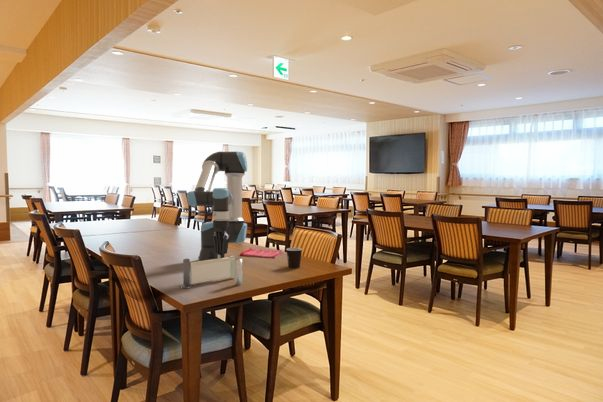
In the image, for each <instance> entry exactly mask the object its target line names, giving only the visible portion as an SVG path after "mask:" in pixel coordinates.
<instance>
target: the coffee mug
mask: <svg viewBox="0 0 603 402" xmlns="http://www.w3.org/2000/svg"><path fill="white" fill-rule="evenodd" d="M302 252H303V248H300V247H288V248H286V257H287V266H288V268H289V269H300V268H301V260H302V254H303V253H302Z"/></svg>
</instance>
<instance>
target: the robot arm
mask: <svg viewBox="0 0 603 402" xmlns="http://www.w3.org/2000/svg"><path fill="white" fill-rule="evenodd" d="M201 169H202V170H201V172H200V174H199V175H200V176H199V178H198V180H197V183H196V186H195V187H194V188H195V189H194V190H191V191H188V192H187V194H186V195H187V196H186V201H187V204H188V206H193V207H212V219H213V220H212V221H206V222H204V223H201V225H200V246H201V247H200V251H199V256H197V257H198V258H197V261H204V260H211V259H218V258H225V255H226V254H228V249H229V244H243V243H245V240H246V238H247V237H246V236H247V234H248V233H247V231H248V223H245V219H244V218H243V177H244V176H245V175H246V174H245V172H248V161H247V157H246V154H245V152H243V151H216V152H214V153H212V154H210V155H209V156H207V157H206V158H205V160H203V162H202V165H201ZM218 172H224V175H225V176H226V177H227V186H226V187H227V188H225V187H224V188H223V187H219V188H218V187H217V188H213V189H212V190H211V188H212V185H213V182H214V180H215V176H216V174H218Z"/></svg>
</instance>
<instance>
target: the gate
mask: <svg viewBox="0 0 603 402" xmlns="http://www.w3.org/2000/svg"><path fill="white" fill-rule="evenodd" d="M190 260H191V259H189V258H183V259H182V264H183V265H182V269H183V270H182V271H183V272H182V273H183V275H182V276H183V284H184V285H185V286H187V285H190V284H193V285H194V284H198V283H205V282H211V281H217V280H223V279H228V278H230V279H234V278H235V279H236V256H235V255H229V256H227V257H224V258H218V259H211V260H204V261H198V260H197V261H190Z"/></svg>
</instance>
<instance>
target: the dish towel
mask: <svg viewBox="0 0 603 402" xmlns="http://www.w3.org/2000/svg"><path fill="white" fill-rule="evenodd" d="M282 252H283V250H282V249H281V250H279V251H278V250H271V249H269V250H268V249H255V248H251V247H250V248H249V249H246V250H244V251H242V252H240V255H239V256H240V257H247V258H248V257H250V258H264V259H276V258H277V256H278V257H280V256H281V255H283V254H282ZM280 254H281V255H280Z"/></svg>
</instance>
